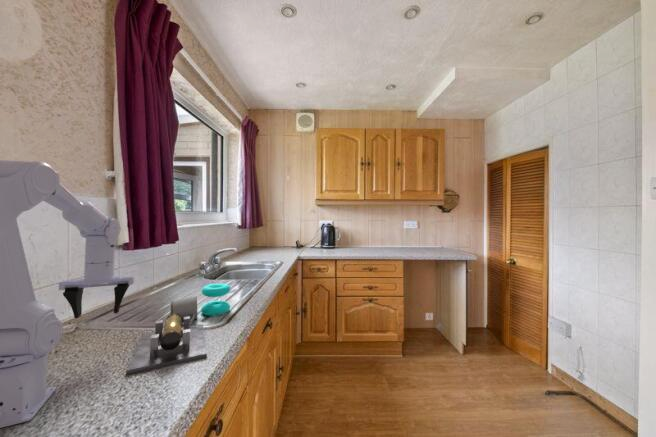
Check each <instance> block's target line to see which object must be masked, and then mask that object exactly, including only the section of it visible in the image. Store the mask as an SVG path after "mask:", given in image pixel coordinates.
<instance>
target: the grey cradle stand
mask: <svg viewBox="0 0 656 437" xmlns="http://www.w3.org/2000/svg"><path fill="white" fill-rule="evenodd" d="M183 322H184V325H183V326H181V334H180V336H181V340H180V343H179V345H178V346H177V347H176V348H175V349H172V350H164V349H163V348H162V347H161V345H160V342H161V338H162V336H163V332H164V320H163V319H160V320H156V322H155V327H154V328H155V329H154V330H155V331H152V332H144V333H141V335H140V337H139V340H138V342H137V345H136V347H135V349H134V350H133V351H134V352H133V353H132V356H131V358H130V360H129V363H128V365H127V367H126V370H125V376H127V375H132V374H138V373H142V372H147V371H151V370H156V369H160V368H165V367H169V366H174V365H178V364H183V363H187V362H192V361H196V360H198V361H199V360H202V359H206V358H207V356H208V355H207V344H206V338H205V330H204V324H203V323H201V324H195V325H191V324H190V316H188V317H184V320H183Z"/></svg>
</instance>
